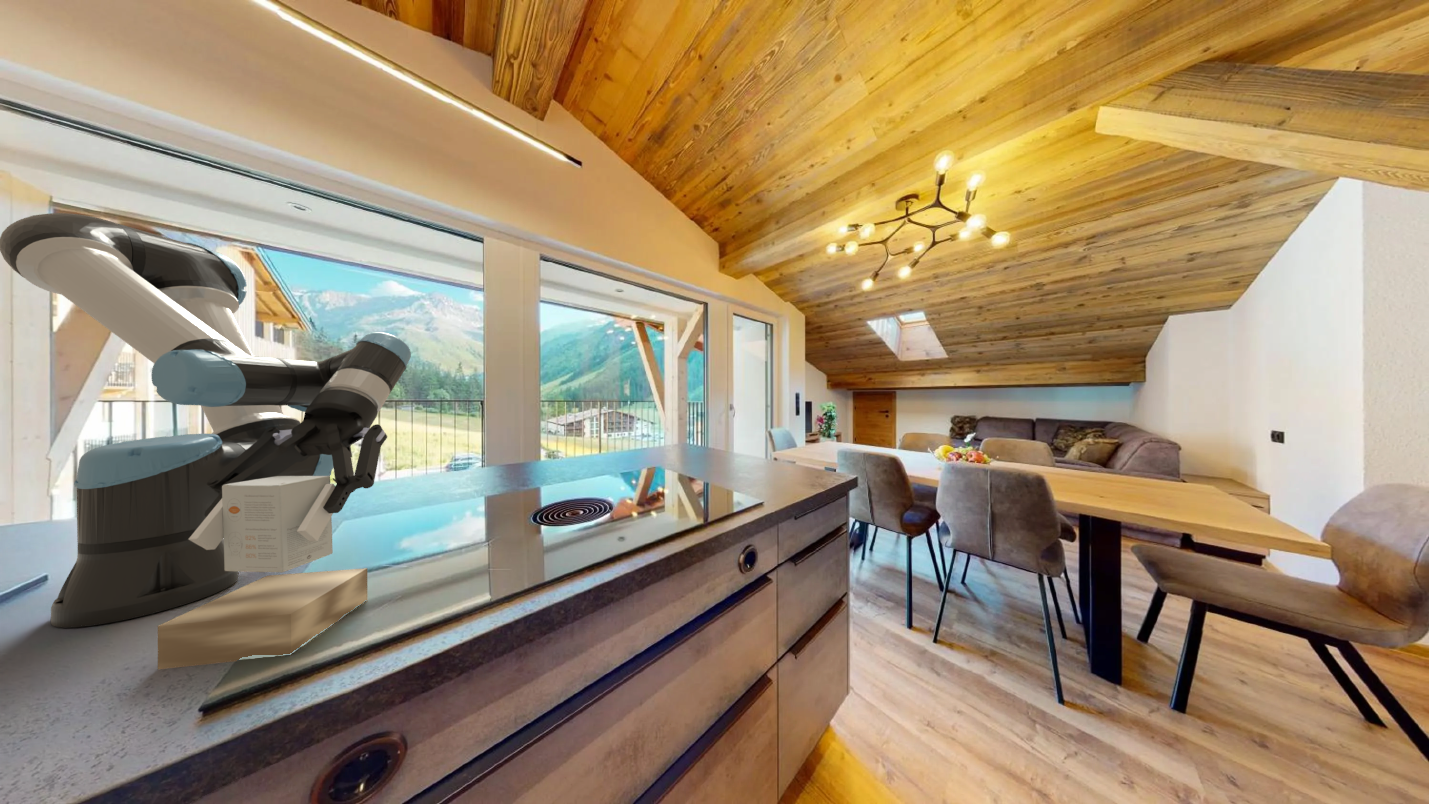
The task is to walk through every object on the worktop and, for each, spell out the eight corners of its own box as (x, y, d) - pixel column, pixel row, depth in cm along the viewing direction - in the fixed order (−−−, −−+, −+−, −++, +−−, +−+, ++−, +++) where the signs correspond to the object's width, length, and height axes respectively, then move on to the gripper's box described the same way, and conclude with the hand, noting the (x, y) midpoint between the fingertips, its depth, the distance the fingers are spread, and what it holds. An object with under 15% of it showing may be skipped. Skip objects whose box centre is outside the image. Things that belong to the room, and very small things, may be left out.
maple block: (267, 611, 52) (267, 575, 52) (367, 602, 54) (367, 568, 54) (157, 672, 40) (157, 625, 40) (291, 658, 43) (291, 613, 43)
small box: (333, 554, 50) (332, 475, 50) (281, 574, 44) (280, 484, 44) (279, 553, 51) (278, 474, 51) (221, 572, 45) (220, 483, 45)
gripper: (436, 418, 65) (380, 544, 50) (278, 422, 60) (160, 564, 44) (420, 386, 60) (351, 516, 44) (245, 387, 55) (99, 534, 39)
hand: (256, 540), depth 44 cm, fingers closed on small box, 9 cm apart
